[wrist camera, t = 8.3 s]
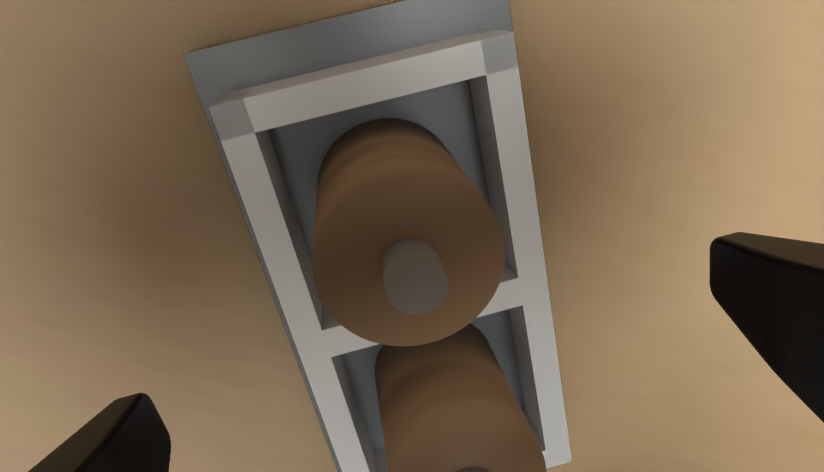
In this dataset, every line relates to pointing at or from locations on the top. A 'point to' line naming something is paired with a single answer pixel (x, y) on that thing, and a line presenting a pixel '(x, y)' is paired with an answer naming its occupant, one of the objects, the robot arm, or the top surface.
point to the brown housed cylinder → (451, 409)
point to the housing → (341, 111)
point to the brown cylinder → (402, 236)
